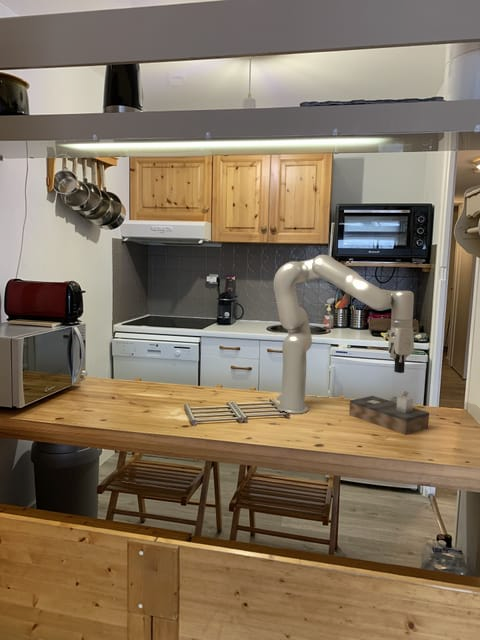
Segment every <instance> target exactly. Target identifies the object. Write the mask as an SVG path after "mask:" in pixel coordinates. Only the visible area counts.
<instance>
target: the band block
mask: <svg viewBox="0 0 480 640" xmlns="http://www.w3.org/2000/svg"><path fill="white" fill-rule="evenodd" d="M370 400H375V401H378V402H381V403H377V404H373V403H370V402H366V401H370ZM396 408H397V403H395V402H392V401H390V399H384V398H381V397H378V396H374V395H370V396H365V397H361V398H356V399H350V400H349V413H348V416H351V417H353V418H357V419H360V420H361V421H366V422H367V423H371V424H374V425H377V426H379V427H381V428H385V429H387V430H390V431H393V432H396V433H398V434H399V433H400V434H401V435H405V436H406V435H410V434H413V433H417V432H420V431H423V430H427V429H429V424H430V412H429V411H425V410H422V409H419V408H415V407H412V412H411V413H407V414H405V413H402V412H399V411H396Z"/></svg>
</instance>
